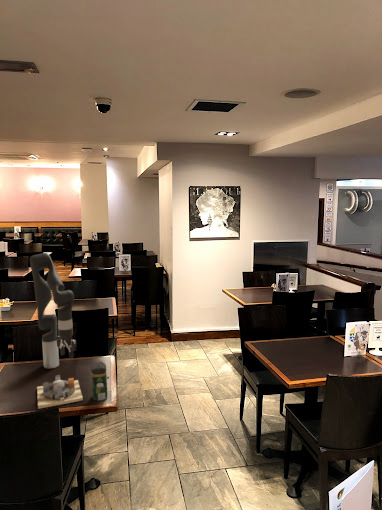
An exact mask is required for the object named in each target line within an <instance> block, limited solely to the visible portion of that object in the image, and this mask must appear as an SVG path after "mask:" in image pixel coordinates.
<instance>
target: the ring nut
mask: <svg viewBox="0 0 382 510" xmlns="http://www.w3.org/2000/svg"><path fill="white" fill-rule="evenodd" d="M54 376H55V381H57V380H61V375H60V374H58V375H54ZM63 381H64V382H65V388H67V389H66V390H64V391H62V385H58V386H57V392H52V391H51V390H53V382H49V381H46V382H43V383H42V386H43V395H44V397H45V398H48V399H52V400H53V399H54V398H55V399H60V398H61V397H64V398H66V397H68V396H70V395H71V394H72V393H74V391H75V386H74V381H75V380H74V377H69V378H67V380H66V379H65V380H63Z"/></svg>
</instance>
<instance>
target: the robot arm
mask: <svg viewBox="0 0 382 510" xmlns="http://www.w3.org/2000/svg"><path fill="white" fill-rule="evenodd" d="M29 265H30V270H31V274H32V278H33V279H32V280H33V286H34V295H35V302H36V309H37V325H38V328H39V331H40V330H41V331H49V332H47V333H45V334H43V335H42V336H41V342H42V343H41V344H42V345H41V346H42V360H43V368H45V369H54V368H57V367H59V366H60V356H64V355H66V354H65V353H66V350H65V347H66V349H68V357H69V359H73V358H74V356H75V355H74V351H76V350H77V339H74V338H73V337H72V336H73V335H74V328H73V316H72V315H73V314H72V313H73V312H72V310H73V304H74V301H75V295H74V292H73V291H72V290H71V289H67V290H65V288H66V287H65V285H64V283H63V281H62V279H61V278H60V276H59V275H58V272H57V270H56V267H55V264H54V262H53V260H52V257H51V255H50V254H49V253H47V252H42V253H38V254H34V255H31V256H30V257H29ZM46 269H48V274H47V277H46V280H45V279H43V277H42V276H41V275H40V271H42V270H46ZM52 298H53V302H54V304H55V305H58V306H62V305H64V306H63V307H61V308H59V309H58V310H57V315H56V314H44V313H45V311H46V309H47V307H48V305H49V304H50V303H51V301H52ZM59 350H60V356H59Z"/></svg>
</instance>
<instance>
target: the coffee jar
mask: <svg viewBox="0 0 382 510" xmlns="http://www.w3.org/2000/svg"><path fill="white" fill-rule="evenodd" d="M90 373H91V375H90V377H91V391H92V393H91V394H92V400H94V401H97V402H100V401H101V402H102V401H104V400H106V399H108V380H107V379H108V377H107V375H108V374H107V365H106V363H105V362H103V361H96V362H94V363H93V364H91V368H90Z"/></svg>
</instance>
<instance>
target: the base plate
mask: <svg viewBox="0 0 382 510" xmlns="http://www.w3.org/2000/svg"><path fill="white" fill-rule="evenodd" d="M52 383H53V390H51V391H52V392H57V386H58V385H62V391H64V390H66V389H67V388H65V382H64V380H63V379H60V380H57V381H56V380H54V381H52ZM74 386H75V391H74V393H72V394H71V395H70V396H68V397H66V398H64V397H61V398H60V399H55V398H54V399H53V400H52V399H48V398H45V397H44V395H43V385H40V386H36V390H37V391H36V392H37V409H38V410H39V409H43V408H50V407H54V406H61V405H65V404H71V403H75V402H76V403H77V402H82V401H83V399H84V398H83V394H82V390H81V388H80V387H81V386H80V382H79V380H78V379H76V380H74Z"/></svg>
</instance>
